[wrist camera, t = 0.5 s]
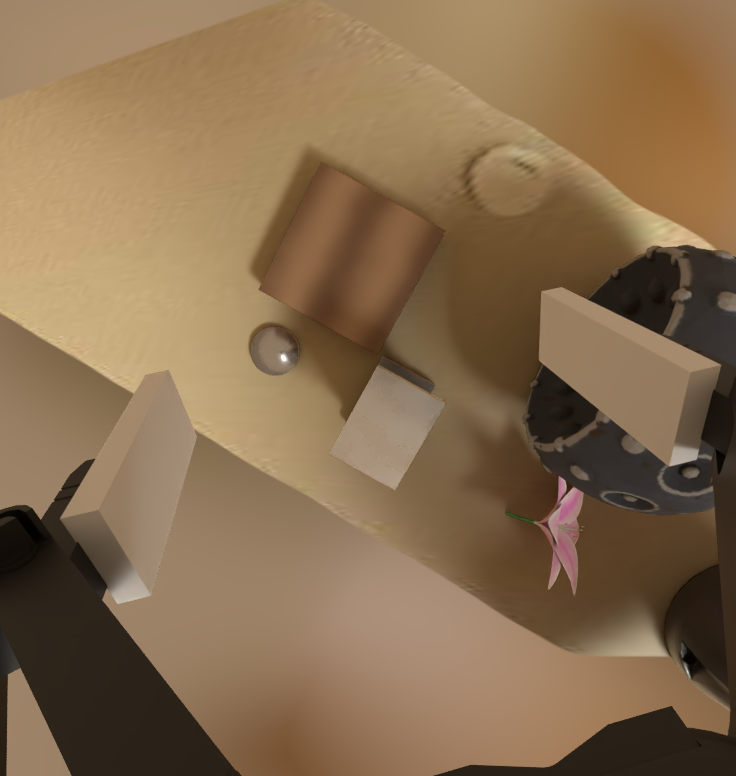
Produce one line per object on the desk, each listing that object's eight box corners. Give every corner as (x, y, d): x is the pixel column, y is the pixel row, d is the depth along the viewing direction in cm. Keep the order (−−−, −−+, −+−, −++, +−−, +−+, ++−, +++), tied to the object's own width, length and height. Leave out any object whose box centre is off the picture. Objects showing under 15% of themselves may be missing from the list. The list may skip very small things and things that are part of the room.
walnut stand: (442, 237, 44) (445, 230, 41) (378, 353, 46) (377, 354, 43) (326, 172, 44) (321, 161, 41) (267, 291, 46) (258, 289, 43)
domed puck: (308, 341, 47) (306, 341, 46) (287, 382, 48) (284, 383, 47) (266, 318, 47) (263, 318, 46) (245, 360, 48) (242, 360, 47)
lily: (542, 578, 49) (623, 616, 41) (459, 558, 45) (530, 596, 36) (567, 472, 51) (649, 487, 43) (489, 443, 47) (564, 453, 38)
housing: (433, 383, 46) (445, 404, 34) (395, 448, 47) (395, 490, 36) (382, 355, 46) (377, 366, 34) (346, 421, 47) (328, 454, 36)
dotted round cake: (493, 427, 46) (564, 504, 27) (600, 251, 43) (770, 189, 24) (584, 477, 46) (721, 590, 27) (697, 304, 43) (947, 288, 24)
